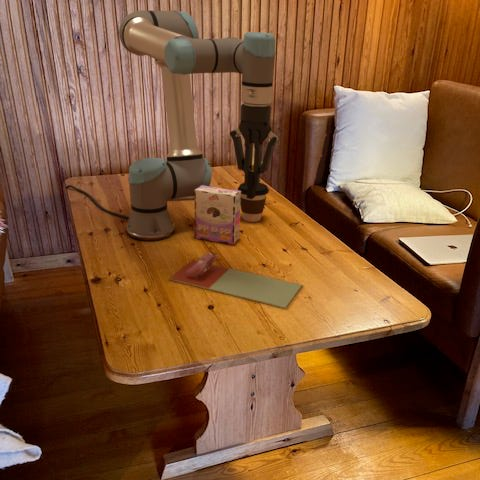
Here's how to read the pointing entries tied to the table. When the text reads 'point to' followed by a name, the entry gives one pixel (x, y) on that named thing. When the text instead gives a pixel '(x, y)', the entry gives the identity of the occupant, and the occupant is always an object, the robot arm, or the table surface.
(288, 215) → the table surface
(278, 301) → the placemat
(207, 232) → the candy box
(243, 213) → the coffee cup
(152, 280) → the table surface
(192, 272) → the video game controller
